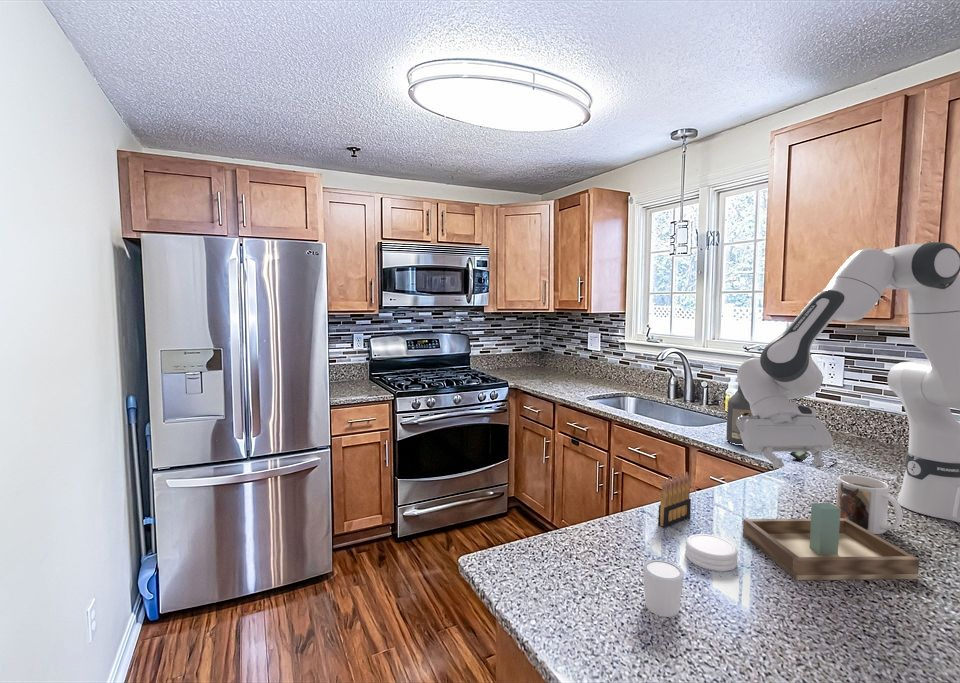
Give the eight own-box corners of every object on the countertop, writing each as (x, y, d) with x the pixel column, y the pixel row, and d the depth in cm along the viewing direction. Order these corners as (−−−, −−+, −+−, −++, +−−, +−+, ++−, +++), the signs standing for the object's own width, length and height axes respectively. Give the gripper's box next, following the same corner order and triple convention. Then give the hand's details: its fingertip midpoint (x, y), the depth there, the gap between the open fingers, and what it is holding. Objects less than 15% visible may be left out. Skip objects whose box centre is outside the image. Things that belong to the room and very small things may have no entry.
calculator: (828, 469, 160) (829, 460, 160) (789, 460, 169) (789, 452, 169) (837, 463, 166) (837, 454, 166) (798, 455, 175) (799, 447, 175)
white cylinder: (635, 596, 89) (636, 559, 88) (671, 594, 89) (672, 558, 89) (651, 620, 82) (653, 581, 81) (690, 618, 82) (691, 579, 82)
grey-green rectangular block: (827, 547, 105) (829, 502, 104) (837, 554, 102) (840, 508, 101) (809, 547, 105) (811, 503, 104) (819, 554, 102) (822, 508, 101)
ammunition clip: (664, 528, 116) (665, 480, 115) (657, 525, 118) (659, 477, 117) (690, 518, 122) (692, 472, 121) (684, 515, 123) (685, 469, 123)
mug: (878, 520, 121) (881, 477, 120) (902, 542, 109) (906, 494, 109) (829, 514, 124) (831, 472, 123) (847, 534, 113) (850, 489, 112)
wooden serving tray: (844, 534, 113) (845, 518, 113) (917, 578, 95) (919, 559, 94) (742, 535, 112) (743, 519, 112) (796, 580, 94) (797, 560, 94)
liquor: (724, 439, 194) (727, 366, 192) (748, 440, 193) (751, 366, 191) (733, 446, 185) (736, 369, 183) (758, 447, 184) (761, 369, 182)
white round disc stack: (733, 578, 95) (734, 561, 95) (680, 562, 101) (681, 546, 100) (740, 557, 103) (740, 541, 103) (690, 543, 109) (691, 528, 109)
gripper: (738, 409, 117) (761, 461, 108) (820, 408, 118) (850, 460, 109) (728, 422, 122) (749, 473, 113) (807, 421, 123) (834, 472, 114)
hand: (799, 467), depth 111 cm, fingers open, 8 cm apart
